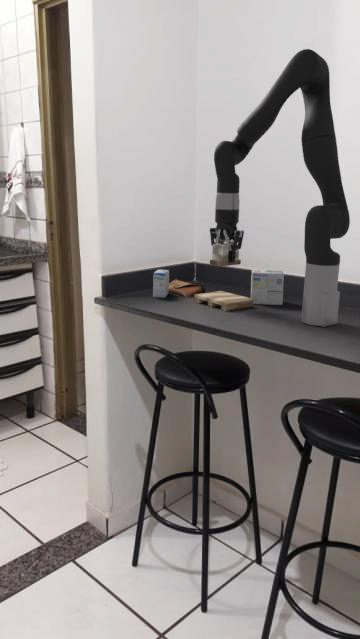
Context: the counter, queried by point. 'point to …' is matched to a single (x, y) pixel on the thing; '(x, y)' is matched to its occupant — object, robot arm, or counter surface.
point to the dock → (224, 300)
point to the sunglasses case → (185, 288)
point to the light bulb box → (267, 287)
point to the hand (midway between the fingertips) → (225, 261)
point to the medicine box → (160, 283)
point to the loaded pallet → (223, 255)
